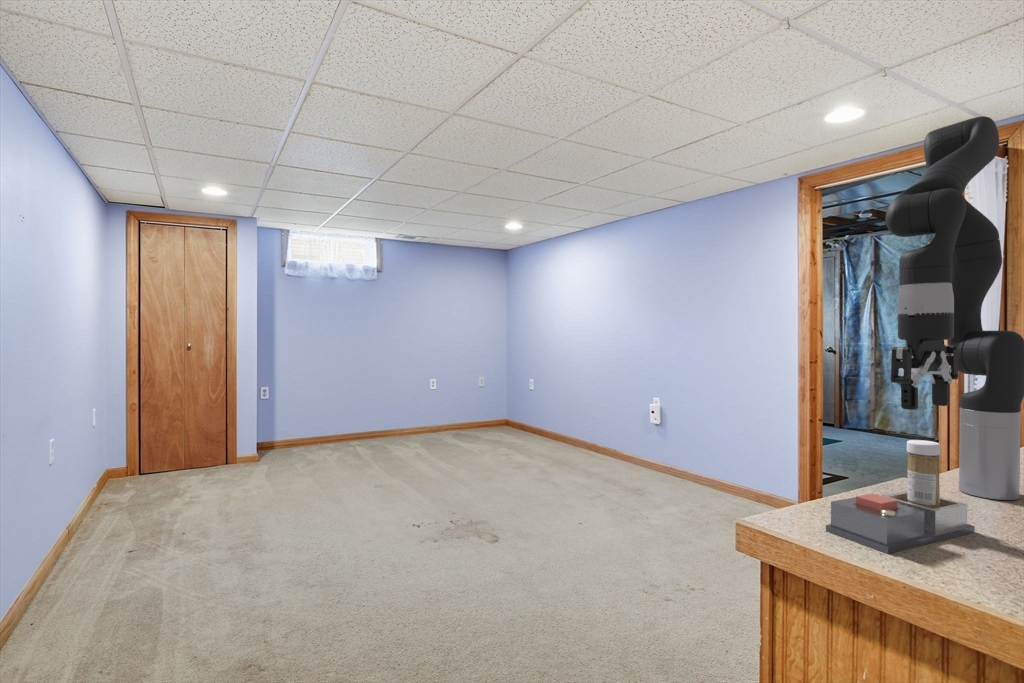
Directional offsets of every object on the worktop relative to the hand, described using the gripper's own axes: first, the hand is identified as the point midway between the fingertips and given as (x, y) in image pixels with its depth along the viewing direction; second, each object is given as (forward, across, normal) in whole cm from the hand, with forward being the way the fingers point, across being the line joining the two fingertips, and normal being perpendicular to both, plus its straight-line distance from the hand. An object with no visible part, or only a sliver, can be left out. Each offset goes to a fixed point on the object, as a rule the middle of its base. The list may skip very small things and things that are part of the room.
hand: (925, 407), depth 90 cm
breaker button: (+19, +12, 0) cm, 23 cm away
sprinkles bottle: (+20, 0, 0) cm, 20 cm away
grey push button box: (+20, +6, 0) cm, 21 cm away
